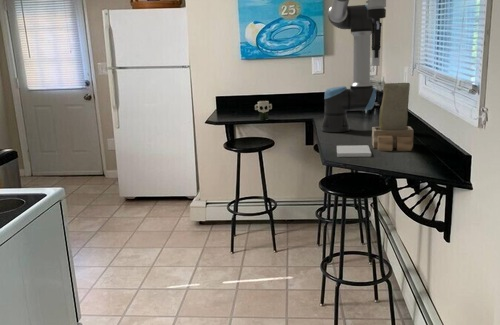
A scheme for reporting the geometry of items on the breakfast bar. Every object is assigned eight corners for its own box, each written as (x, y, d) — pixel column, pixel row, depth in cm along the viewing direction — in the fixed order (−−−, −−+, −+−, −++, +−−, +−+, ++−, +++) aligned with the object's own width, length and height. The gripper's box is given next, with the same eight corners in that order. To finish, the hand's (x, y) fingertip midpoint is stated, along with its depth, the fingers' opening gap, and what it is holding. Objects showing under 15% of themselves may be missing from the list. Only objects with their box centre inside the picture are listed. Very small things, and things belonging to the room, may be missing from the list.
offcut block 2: (395, 148, 212) (396, 135, 210) (409, 148, 211) (410, 135, 209) (397, 150, 208) (397, 137, 206) (411, 150, 207) (411, 137, 205)
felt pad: (336, 148, 216) (336, 145, 216) (368, 148, 214) (368, 145, 214) (337, 156, 201) (337, 153, 201) (371, 156, 199) (371, 153, 198)
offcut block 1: (377, 148, 213) (377, 135, 212) (391, 148, 212) (391, 135, 210) (378, 150, 209) (378, 137, 208) (392, 150, 208) (392, 137, 207)
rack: (371, 143, 224) (372, 126, 222) (409, 143, 221) (409, 126, 219) (373, 148, 215) (374, 130, 213) (412, 147, 212) (413, 130, 210)
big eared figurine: (255, 123, 303) (254, 102, 300) (255, 121, 310) (254, 101, 307) (272, 122, 303) (272, 101, 300) (271, 120, 310) (271, 100, 307)
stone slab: (404, 143, 219) (410, 81, 204) (405, 147, 215) (412, 84, 201) (376, 142, 221) (381, 81, 206) (377, 147, 217) (382, 84, 203)
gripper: (365, 10, 207) (365, 65, 213) (369, 7, 192) (368, 66, 197) (383, 9, 206) (382, 64, 211) (388, 6, 191) (387, 65, 196)
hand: (375, 65), depth 204 cm, fingers open, 3 cm apart
